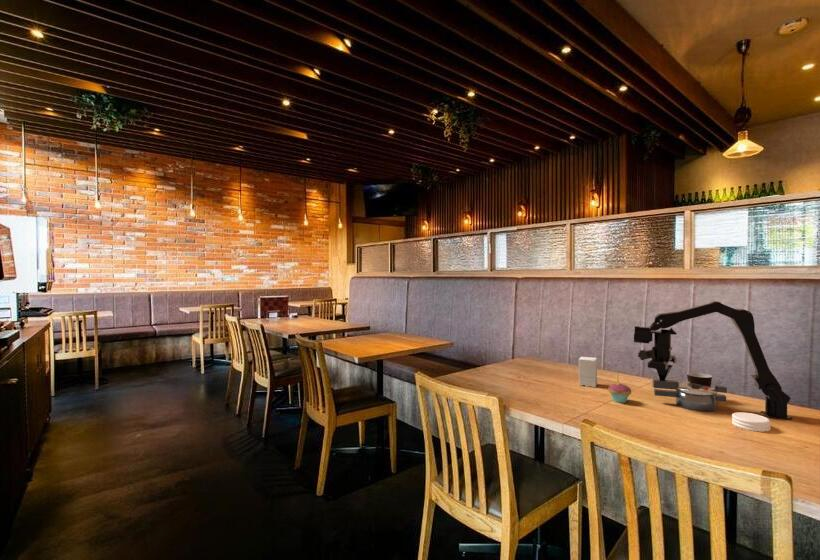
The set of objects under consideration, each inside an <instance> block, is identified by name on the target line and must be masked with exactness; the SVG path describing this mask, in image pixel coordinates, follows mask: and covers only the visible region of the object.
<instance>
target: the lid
mask: <svg viewBox="0 0 820 560" xmlns="http://www.w3.org/2000/svg"><path fill="white" fill-rule="evenodd" d="M714 387H715V388H714ZM714 387H712V386H711V387H709V386H705V385H700V384H696V383H692V384H691V383H688V382H684V383H683V382H681V383H680V382H679V381H678V380H672V379H670V380H669V379H665V380H660V379H659V378H658V379H657V378H653V379H652V388H653V389H661V390H673V391H676V390H678V391H681V392H685V393H689V394H695V395H716V394H718V393H724V394H725V393H726V394H727V393H728V387H727V386H725V385H714Z"/></svg>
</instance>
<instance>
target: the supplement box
mask: <svg viewBox="0 0 820 560" xmlns="http://www.w3.org/2000/svg"><path fill="white" fill-rule="evenodd" d="M579 384H580V385H585V386H584V387H588V386H592V387H591V388H596V387H597V386H596V385H598V358H597V357H590V356H580V357H579V358H578V385H579Z"/></svg>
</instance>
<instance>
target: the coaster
mask: <svg viewBox="0 0 820 560" xmlns="http://www.w3.org/2000/svg"><path fill="white" fill-rule="evenodd" d="M731 417H732V418H731V423H732V425H733V426H735V427H736V426H737V428H739V429H742V428H743V429H742V430H745V429H747V431H750V430H752V431H751V432H757V431H759V433H766V432H765V431H767V432H769V430H770V431H771V420H770V419H769V418H768V417H767V416H766V417H765V416H763V415H760V414H756V413H752V412H751V413H750V412H744V411H743V412H742V411H741V412H739V411H737V412H734V413H732V414H731Z"/></svg>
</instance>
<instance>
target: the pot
mask: <svg viewBox="0 0 820 560" xmlns="http://www.w3.org/2000/svg"><path fill="white" fill-rule="evenodd" d="M653 394H654V396H658V397H671V398H675V405H676V406H677V405H678V407H679V408H682V409H685V410H689V411H695V412H701V413H703V412H704V413H711V412H712V413H713V412H716V411H717V402H724V403H725V402H727V396H726V395H725V394H720V393H717V394H716V395H695V394H689V393H685V392H681V391H678V390H674V389H661V388H653Z"/></svg>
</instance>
